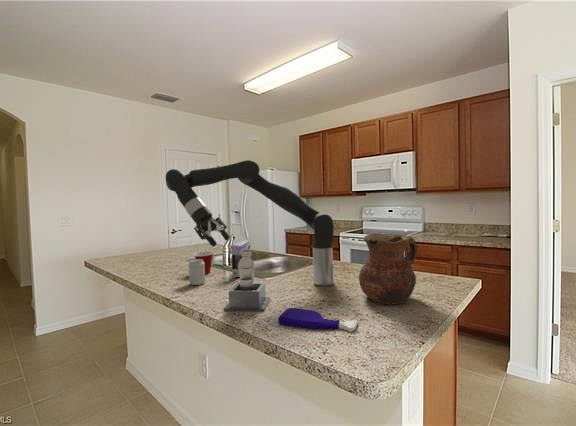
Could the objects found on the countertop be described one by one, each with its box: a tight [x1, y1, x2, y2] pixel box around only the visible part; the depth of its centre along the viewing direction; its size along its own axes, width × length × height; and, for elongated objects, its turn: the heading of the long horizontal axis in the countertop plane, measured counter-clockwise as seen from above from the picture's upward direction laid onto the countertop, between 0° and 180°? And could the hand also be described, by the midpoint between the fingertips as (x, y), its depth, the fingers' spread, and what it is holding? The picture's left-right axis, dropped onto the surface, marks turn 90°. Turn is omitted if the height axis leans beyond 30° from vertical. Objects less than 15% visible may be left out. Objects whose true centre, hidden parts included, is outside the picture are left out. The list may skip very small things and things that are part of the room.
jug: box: [358, 233, 418, 305], centre depth 119 cm, size 22×21×25 cm
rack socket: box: [223, 282, 271, 312], centre depth 117 cm, size 15×13×7 cm
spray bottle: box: [277, 307, 359, 333], centre depth 98 cm, size 3×11×24 cm
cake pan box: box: [231, 240, 251, 277], centre depth 167 cm, size 19×5×18 cm, turn 168°
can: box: [188, 258, 206, 286], centre depth 149 cm, size 8×8×12 cm
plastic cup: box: [193, 250, 214, 275], centre depth 171 cm, size 11×11×12 cm
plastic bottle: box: [238, 249, 256, 291], centre depth 117 cm, size 6×7×20 cm
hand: (221, 242), depth 122 cm, fingers open, 8 cm apart
